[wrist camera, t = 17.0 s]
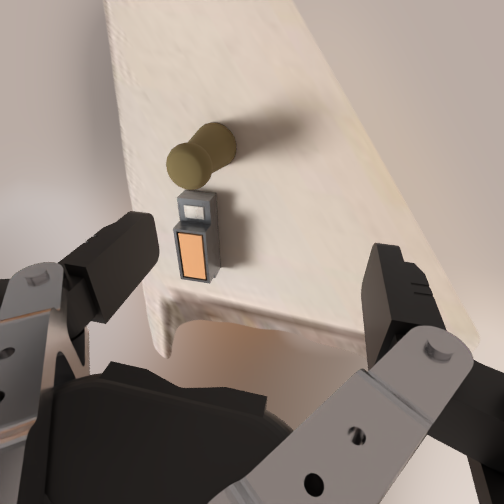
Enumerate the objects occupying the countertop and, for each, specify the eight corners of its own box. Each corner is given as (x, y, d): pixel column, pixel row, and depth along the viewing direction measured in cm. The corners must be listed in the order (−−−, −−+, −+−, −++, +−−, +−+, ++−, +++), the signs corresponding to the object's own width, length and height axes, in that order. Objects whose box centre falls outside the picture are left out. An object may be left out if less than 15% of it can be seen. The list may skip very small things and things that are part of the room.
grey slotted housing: (185, 190, 48) (169, 204, 43) (216, 193, 47) (203, 208, 42) (194, 263, 55) (181, 282, 51) (220, 267, 54) (210, 287, 50)
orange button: (183, 226, 47) (178, 233, 45) (205, 229, 46) (201, 236, 45) (189, 268, 52) (184, 276, 50) (209, 271, 51) (205, 279, 49)
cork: (186, 142, 43) (147, 167, 34) (214, 112, 40) (179, 130, 31) (216, 175, 45) (186, 207, 36) (245, 148, 42) (220, 176, 33)
